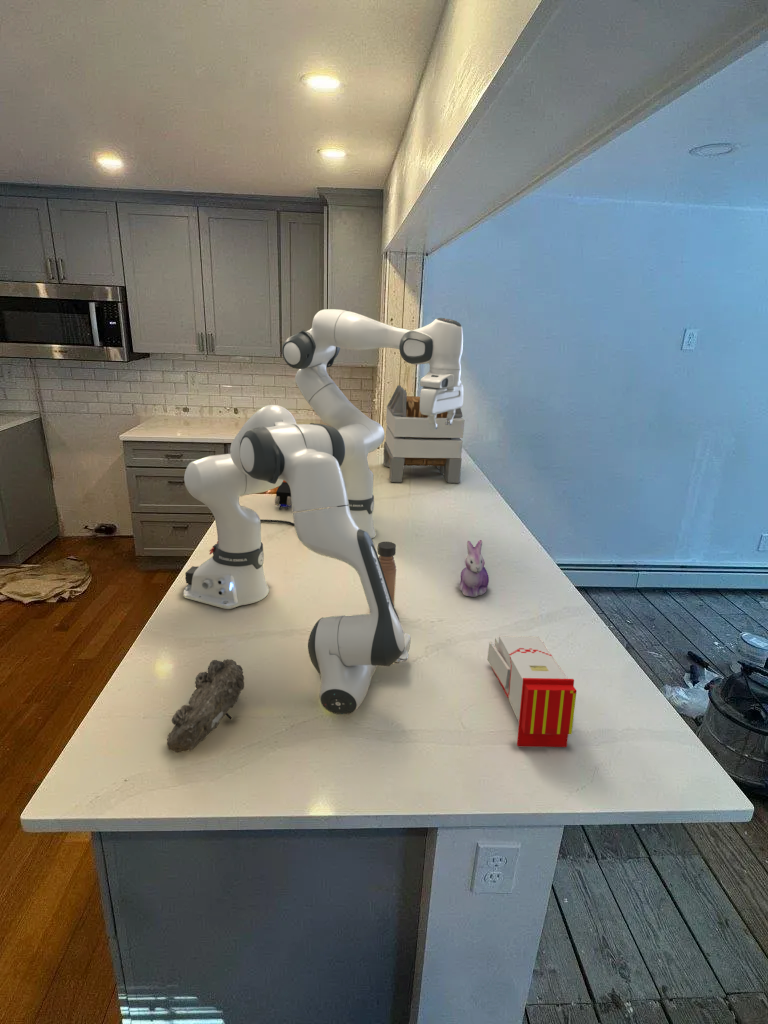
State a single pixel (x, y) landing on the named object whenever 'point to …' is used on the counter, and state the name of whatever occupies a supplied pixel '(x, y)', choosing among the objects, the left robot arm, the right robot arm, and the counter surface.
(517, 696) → the toy
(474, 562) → the figurine
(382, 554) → the cap
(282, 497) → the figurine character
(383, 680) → the counter surface
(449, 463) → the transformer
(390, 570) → the bottle
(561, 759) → the counter surface
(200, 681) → the fossil
